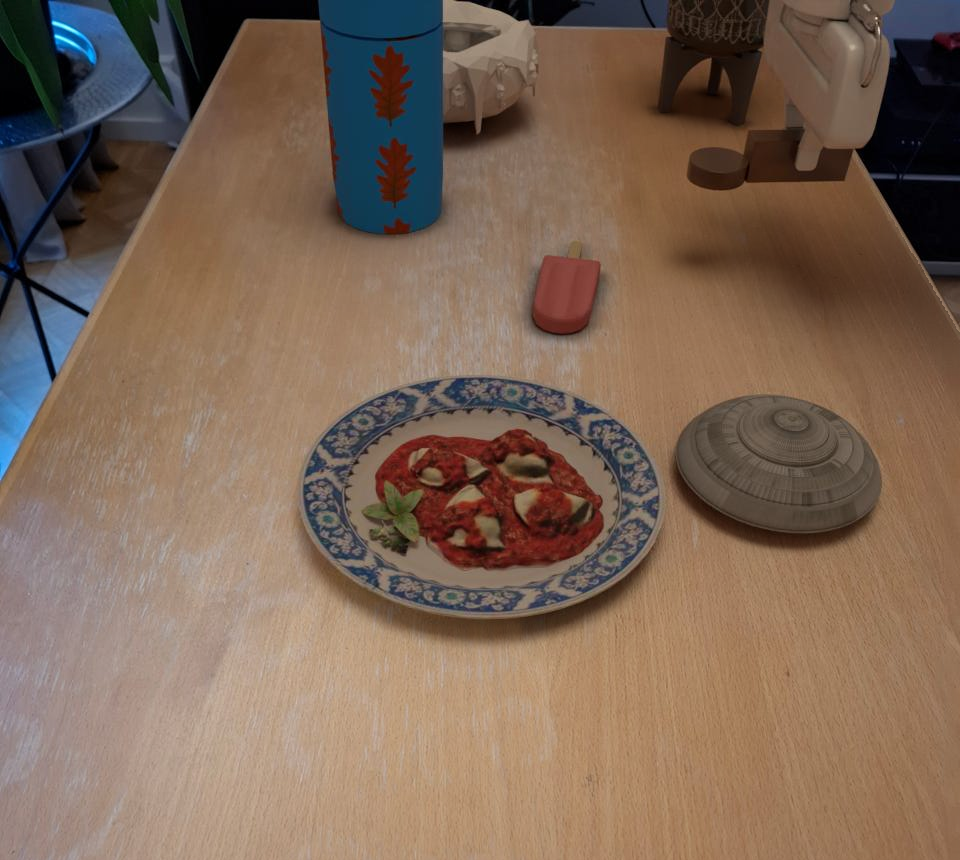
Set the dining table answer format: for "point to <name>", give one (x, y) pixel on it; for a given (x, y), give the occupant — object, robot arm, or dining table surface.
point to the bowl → (484, 61)
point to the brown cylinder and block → (763, 162)
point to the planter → (714, 47)
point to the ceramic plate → (481, 496)
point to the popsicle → (565, 291)
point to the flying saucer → (779, 464)
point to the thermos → (385, 110)
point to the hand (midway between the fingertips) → (796, 157)
